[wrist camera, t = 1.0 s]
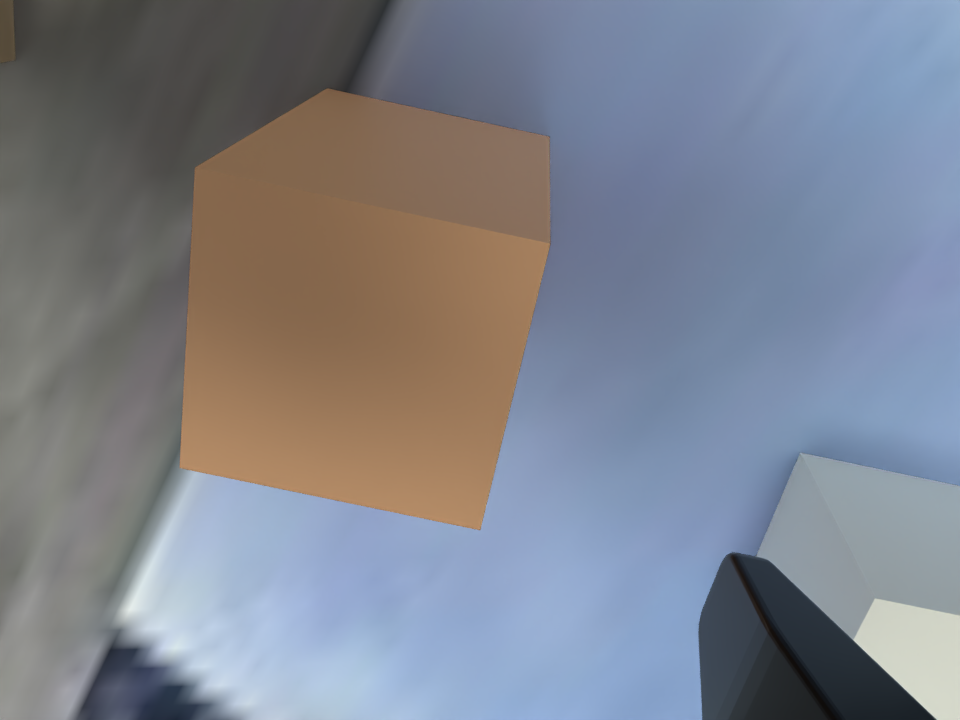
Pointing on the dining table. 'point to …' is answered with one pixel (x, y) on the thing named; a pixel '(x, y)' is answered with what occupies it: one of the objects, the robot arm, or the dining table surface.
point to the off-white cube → (878, 567)
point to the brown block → (363, 303)
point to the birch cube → (7, 31)
